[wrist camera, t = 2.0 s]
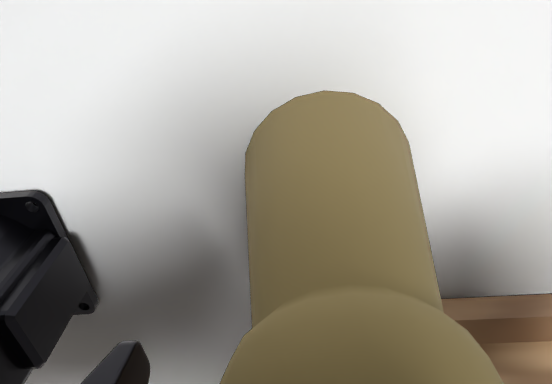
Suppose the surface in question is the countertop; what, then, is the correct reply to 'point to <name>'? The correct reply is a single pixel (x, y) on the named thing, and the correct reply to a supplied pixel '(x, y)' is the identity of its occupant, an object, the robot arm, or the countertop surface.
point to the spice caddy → (510, 333)
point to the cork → (343, 256)
